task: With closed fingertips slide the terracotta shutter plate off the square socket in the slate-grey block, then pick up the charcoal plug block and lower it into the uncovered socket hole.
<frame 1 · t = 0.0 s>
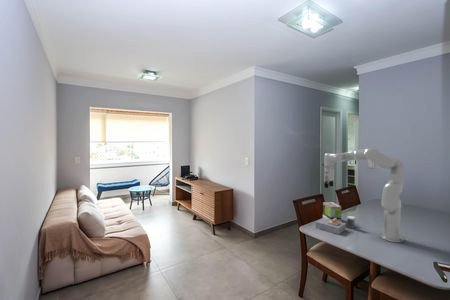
hand: (328, 186, 193), 31 cm above the table, fingers open, 9 cm apart
plug: (350, 228, 181), on the table
tea box: (331, 220, 199), on the table
shutter: (334, 221, 178), point 7 cm above the table, slide at 0.0 cm
socket block: (330, 228, 180), on the table
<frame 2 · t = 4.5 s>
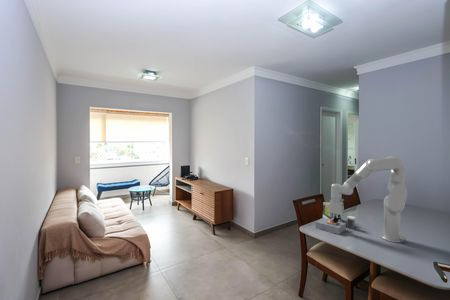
hand: (335, 222, 177), 7 cm above the table, fingers closed
shutter: (332, 220, 179), point 7 cm above the table, slide at 1.4 cm, touching gripper
everything else where it was.
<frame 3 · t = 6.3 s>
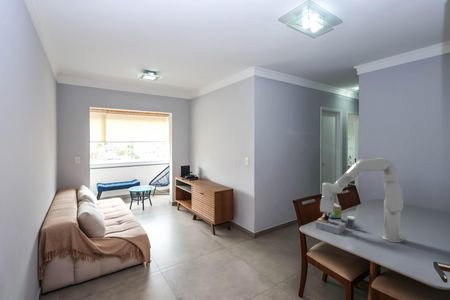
hand: (326, 219, 182), 6 cm above the table, fingers closed
shutter: (323, 218, 184), point 7 cm above the table, slide at 8.7 cm, touching gripper
everything else where it was.
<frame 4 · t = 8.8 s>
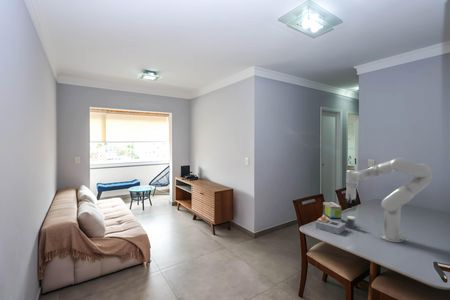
hand: (351, 206, 180), 18 cm above the table, fingers open, 8 cm apart
shutter: (323, 218, 184), point 7 cm above the table, slide at 8.7 cm
everything else where it was.
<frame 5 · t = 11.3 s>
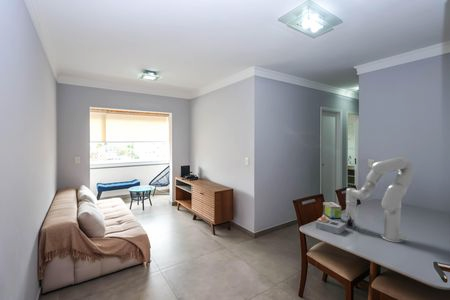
hand: (350, 225, 181), 2 cm above the table, fingers closed on plug, 4 cm apart
plug: (350, 228, 181), on the table, touching gripper
everything else where it was.
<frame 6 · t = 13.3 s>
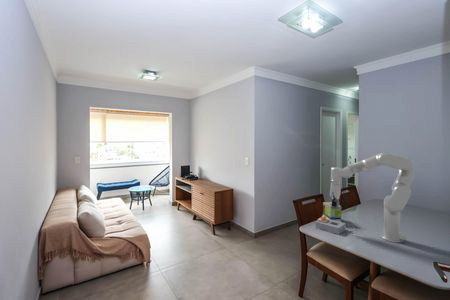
hand: (335, 205, 178), 20 cm above the table, fingers closed on plug, 4 cm apart
plug: (335, 208, 178), point 17 cm above the table, touching gripper
everything else where it was.
when the fingers open (6 cm above the table, at t = 15.5 s): plug drops 3 cm, resting in socket block.
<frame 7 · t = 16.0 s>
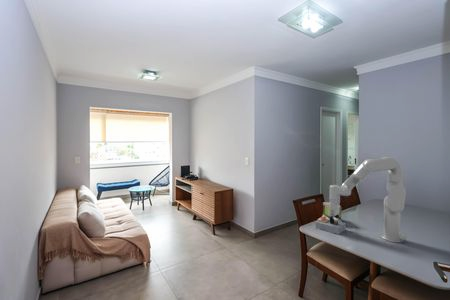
hand: (334, 221, 178), 7 cm above the table, fingers open, 9 cm apart
plug: (334, 229, 178), resting in socket block
everything else where it was.
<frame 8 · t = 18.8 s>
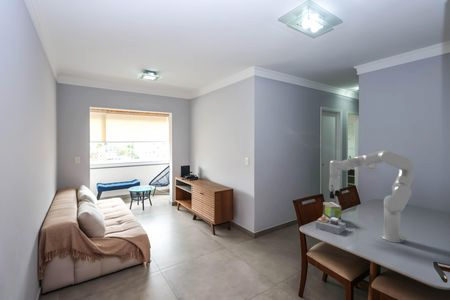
hand: (334, 197, 177), 26 cm above the table, fingers open, 9 cm apart
nothing on the table moved.
at the end: plug 0.0 cm from the target spot on the socket block, point 0.0 cm above the socket block's base; shutter slide at 8.7 cm; the gripper is holding nothing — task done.
